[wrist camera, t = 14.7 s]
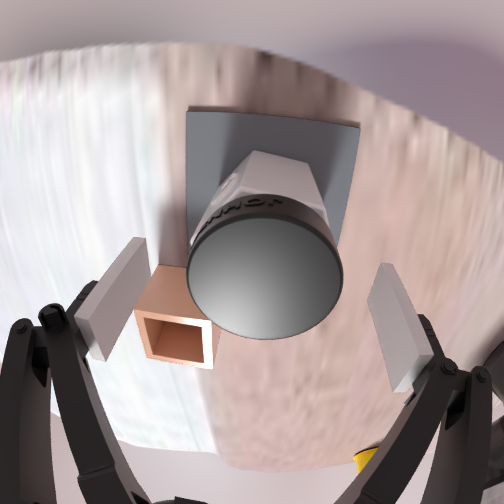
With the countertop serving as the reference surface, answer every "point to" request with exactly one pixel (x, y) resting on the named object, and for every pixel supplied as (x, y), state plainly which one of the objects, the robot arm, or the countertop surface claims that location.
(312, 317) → the jar
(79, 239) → the countertop surface
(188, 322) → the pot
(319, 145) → the mat
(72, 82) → the countertop surface
